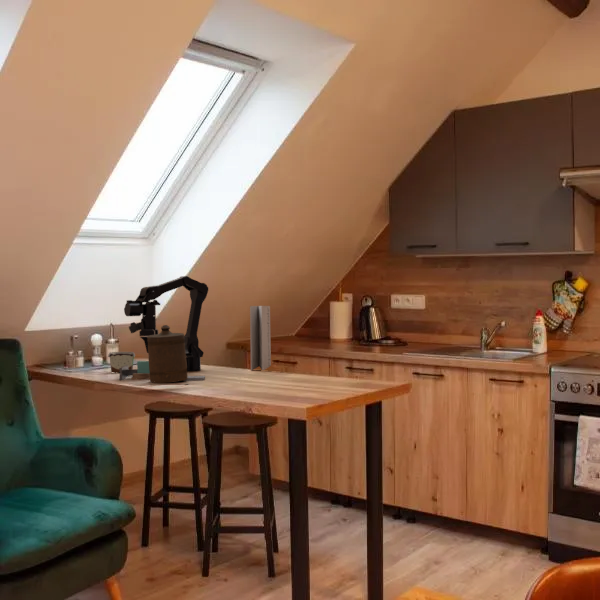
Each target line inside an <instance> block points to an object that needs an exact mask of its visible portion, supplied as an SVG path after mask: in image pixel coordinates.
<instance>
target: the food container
mask: <svg viewBox="0 0 600 600" xmlns="http://www.w3.org/2000/svg"><path fill="white" fill-rule="evenodd" d="M107 357H108V358H109V364H110V372H120V370H119V368H121V367H123V366H125V365H128V369H134V361H135V360H134V359H135V357H136V354H135V352H134V351H112V352H111V351H110V352H109V353H108V356H107Z"/></svg>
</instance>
